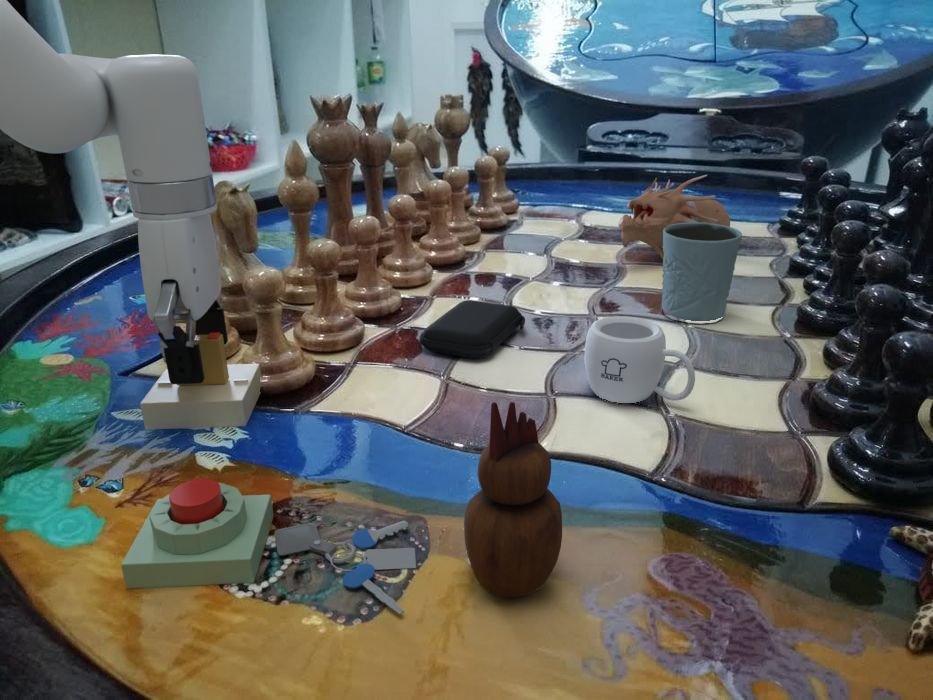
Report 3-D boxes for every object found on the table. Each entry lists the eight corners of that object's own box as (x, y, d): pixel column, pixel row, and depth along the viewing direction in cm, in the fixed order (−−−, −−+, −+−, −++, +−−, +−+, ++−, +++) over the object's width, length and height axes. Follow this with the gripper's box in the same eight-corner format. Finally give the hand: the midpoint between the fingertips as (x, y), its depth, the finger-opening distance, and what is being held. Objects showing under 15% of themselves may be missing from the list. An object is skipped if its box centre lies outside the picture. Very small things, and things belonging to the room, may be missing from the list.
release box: (126, 589, 52) (115, 543, 51) (161, 521, 60) (153, 479, 58) (254, 583, 53) (247, 538, 51) (273, 516, 60) (268, 475, 58)
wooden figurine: (478, 618, 49) (479, 423, 43) (455, 564, 54) (453, 382, 49) (571, 598, 51) (584, 407, 45) (540, 547, 56) (548, 370, 50)
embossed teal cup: (733, 308, 106) (745, 226, 101) (724, 331, 97) (737, 243, 92) (662, 298, 109) (671, 219, 105) (648, 320, 101) (656, 235, 96)
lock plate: (144, 430, 73) (139, 402, 72) (172, 390, 82) (167, 364, 80) (246, 426, 74) (242, 398, 73) (263, 387, 82) (259, 361, 81)
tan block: (176, 385, 76) (168, 338, 74) (181, 379, 77) (173, 333, 75) (225, 384, 76) (218, 337, 74) (229, 377, 77) (222, 331, 75)
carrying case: (493, 367, 87) (533, 326, 99) (493, 343, 86) (534, 304, 98) (413, 353, 91) (462, 315, 103) (413, 330, 90) (462, 294, 102)
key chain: (257, 547, 56) (256, 539, 56) (331, 496, 63) (331, 488, 62) (400, 621, 49) (399, 612, 49) (468, 555, 55) (467, 546, 55)
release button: (166, 527, 53) (162, 507, 52) (180, 498, 56) (177, 479, 56) (216, 525, 53) (213, 505, 52) (228, 496, 56) (225, 477, 56)
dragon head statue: (737, 175, 130) (696, 167, 110) (738, 260, 132) (698, 268, 112) (664, 183, 138) (613, 177, 117) (666, 263, 140) (616, 271, 119)
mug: (568, 399, 79) (572, 331, 76) (601, 371, 86) (605, 308, 83) (677, 428, 73) (686, 356, 70) (703, 396, 80) (712, 329, 77)
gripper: (162, 180, 77) (188, 332, 83) (95, 218, 61) (134, 402, 68) (234, 179, 77) (254, 330, 84) (187, 216, 61) (217, 399, 68)
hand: (201, 362), depth 76 cm, fingers open, 9 cm apart
